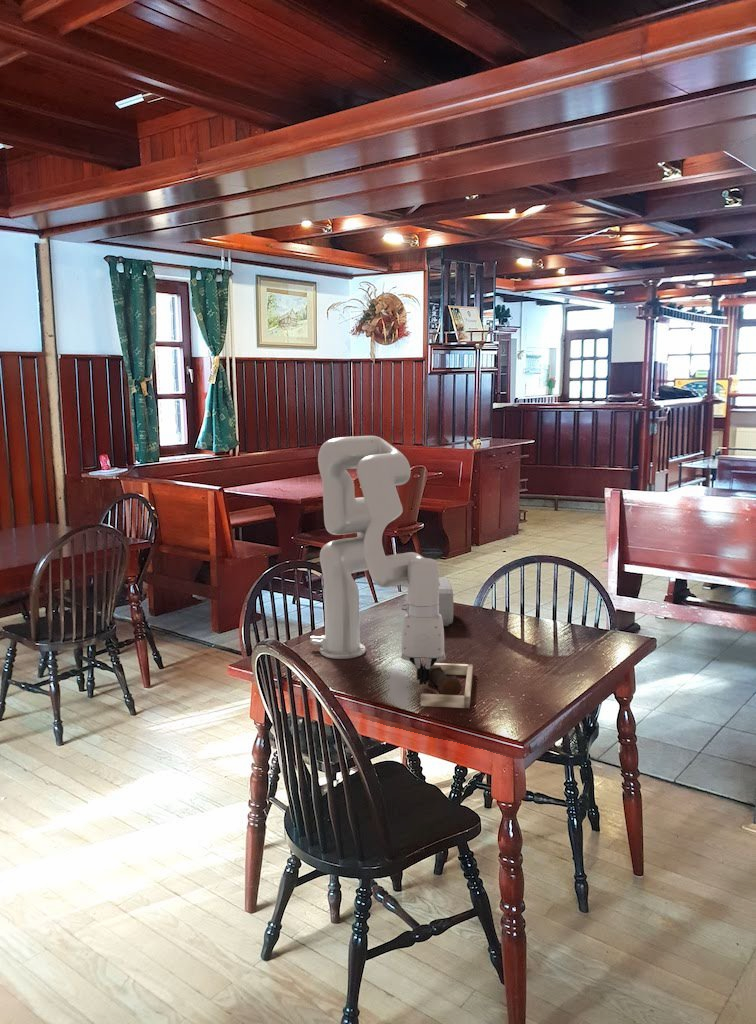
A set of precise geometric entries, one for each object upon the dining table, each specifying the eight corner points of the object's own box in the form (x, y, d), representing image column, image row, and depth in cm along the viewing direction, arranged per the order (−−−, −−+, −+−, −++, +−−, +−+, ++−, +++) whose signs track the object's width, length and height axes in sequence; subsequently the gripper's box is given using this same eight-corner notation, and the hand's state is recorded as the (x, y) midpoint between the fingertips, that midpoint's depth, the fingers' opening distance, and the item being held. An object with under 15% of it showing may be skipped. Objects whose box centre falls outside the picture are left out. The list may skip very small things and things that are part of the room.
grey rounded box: (453, 630, 245) (453, 587, 243) (421, 630, 245) (421, 587, 243) (446, 611, 266) (446, 571, 264) (417, 611, 266) (417, 571, 263)
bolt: (431, 683, 208) (454, 703, 193) (415, 676, 206) (436, 695, 192) (442, 663, 208) (465, 681, 194) (425, 655, 206) (448, 673, 192)
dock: (420, 705, 189) (420, 695, 188) (428, 671, 210) (428, 662, 210) (469, 708, 187) (469, 697, 187) (472, 673, 209) (472, 664, 208)
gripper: (390, 613, 194) (390, 687, 197) (453, 615, 192) (453, 689, 194) (394, 604, 201) (395, 676, 204) (455, 606, 199) (455, 678, 202)
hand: (423, 682), depth 199 cm, fingers closed
